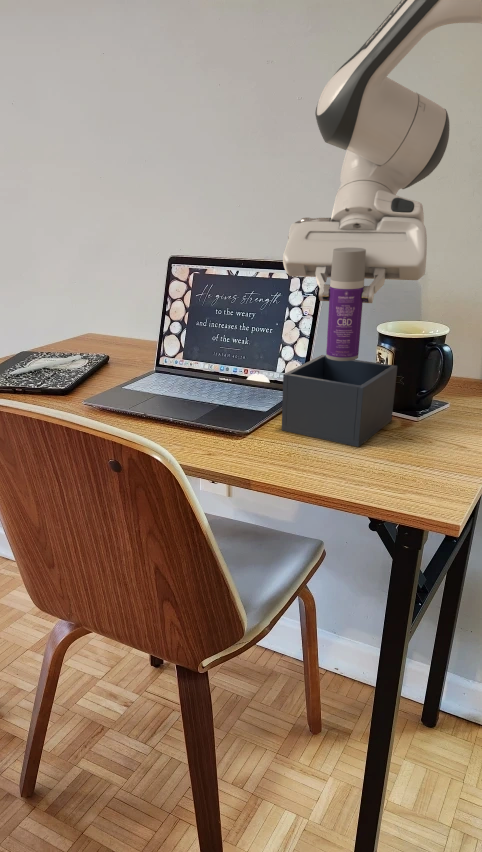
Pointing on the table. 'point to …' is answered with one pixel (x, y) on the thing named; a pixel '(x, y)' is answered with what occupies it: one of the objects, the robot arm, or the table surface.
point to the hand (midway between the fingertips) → (345, 299)
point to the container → (345, 303)
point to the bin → (338, 399)
